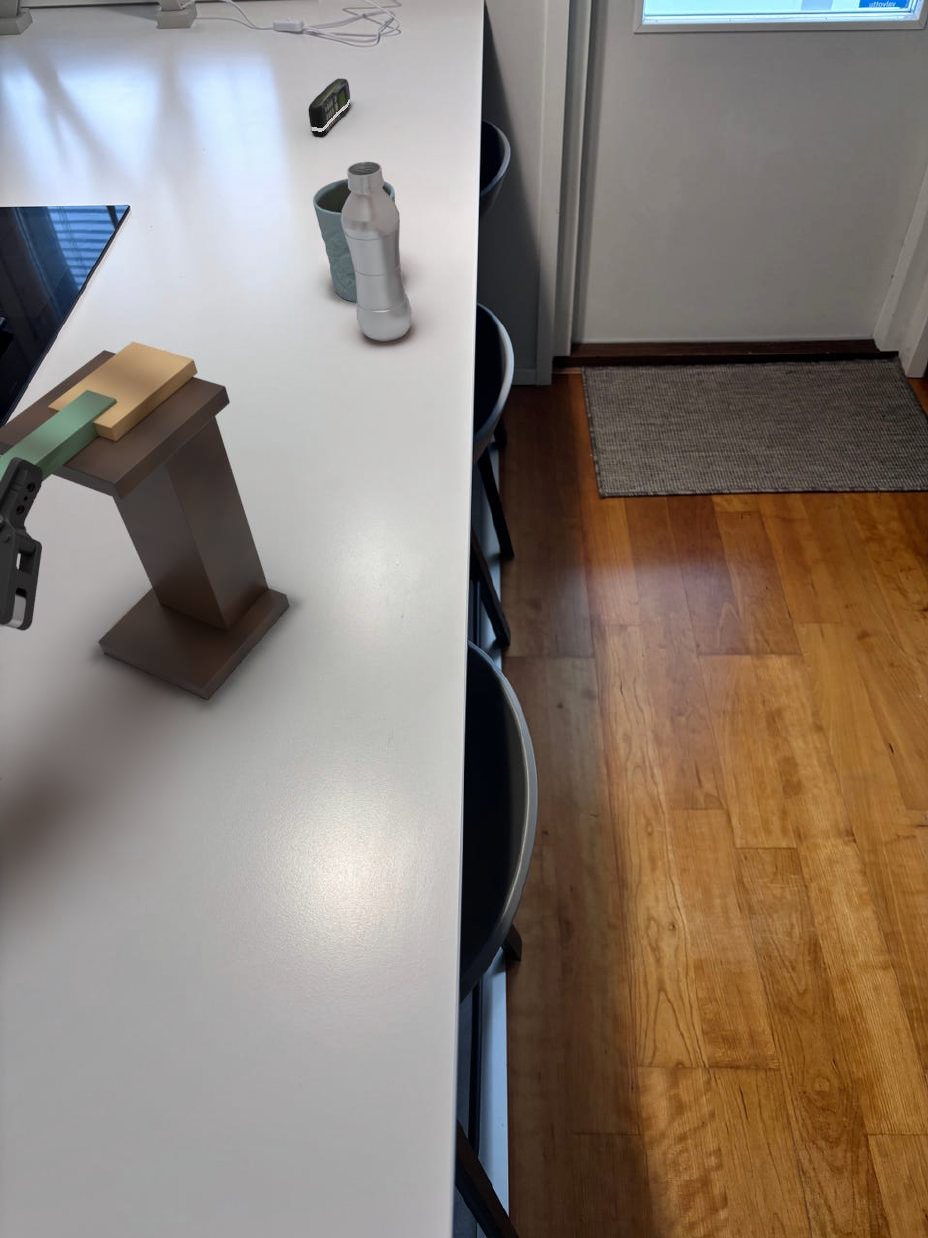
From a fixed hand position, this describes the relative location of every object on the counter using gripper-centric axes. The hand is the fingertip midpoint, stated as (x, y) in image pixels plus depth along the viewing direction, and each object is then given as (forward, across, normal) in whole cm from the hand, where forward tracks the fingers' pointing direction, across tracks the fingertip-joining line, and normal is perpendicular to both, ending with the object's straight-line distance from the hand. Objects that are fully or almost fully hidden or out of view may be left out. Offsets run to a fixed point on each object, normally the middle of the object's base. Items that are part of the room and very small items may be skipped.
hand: (7, 456), depth 62 cm
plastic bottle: (+36, -10, -51) cm, 64 cm away
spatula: (+3, 0, -4) cm, 5 cm away
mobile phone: (+83, -53, -78) cm, 126 cm away
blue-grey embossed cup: (+44, -18, -56) cm, 73 cm away
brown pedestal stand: (-6, 0, -27) cm, 28 cm away
